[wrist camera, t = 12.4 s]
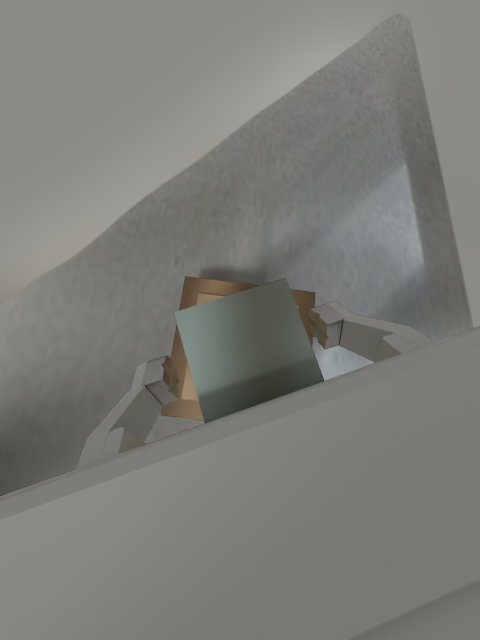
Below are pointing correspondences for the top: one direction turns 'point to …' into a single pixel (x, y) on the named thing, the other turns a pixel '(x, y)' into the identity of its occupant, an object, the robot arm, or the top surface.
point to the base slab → (192, 295)
